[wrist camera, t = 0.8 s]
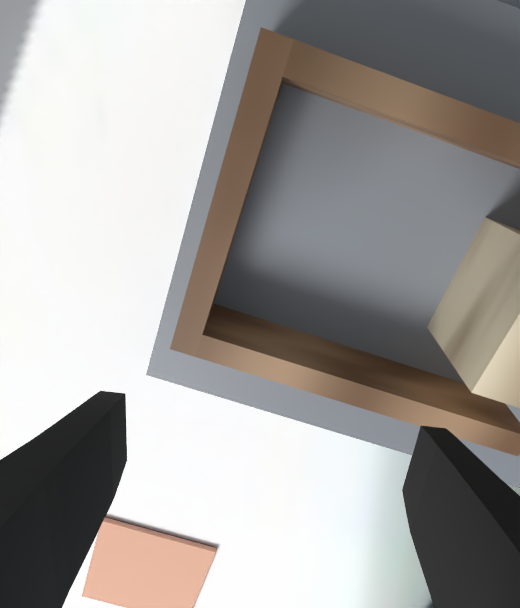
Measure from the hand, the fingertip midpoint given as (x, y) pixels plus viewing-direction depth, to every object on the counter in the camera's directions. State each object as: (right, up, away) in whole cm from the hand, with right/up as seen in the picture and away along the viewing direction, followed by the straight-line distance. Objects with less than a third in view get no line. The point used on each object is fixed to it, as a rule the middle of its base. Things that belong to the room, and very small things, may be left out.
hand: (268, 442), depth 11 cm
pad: (-7, -13, +17) cm, 23 cm away
